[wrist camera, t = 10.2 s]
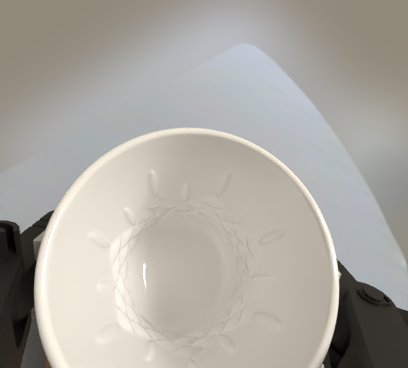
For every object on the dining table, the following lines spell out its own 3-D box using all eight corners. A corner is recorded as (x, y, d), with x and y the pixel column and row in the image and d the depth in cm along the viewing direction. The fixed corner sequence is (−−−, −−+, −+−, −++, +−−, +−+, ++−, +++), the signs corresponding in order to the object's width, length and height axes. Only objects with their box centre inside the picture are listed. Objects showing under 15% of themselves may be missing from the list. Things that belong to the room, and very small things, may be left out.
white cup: (254, 241, 17) (355, 186, 8) (214, 367, 13) (311, 539, 4) (156, 196, 17) (141, 93, 8) (93, 308, 14) (-59, 348, 5)
